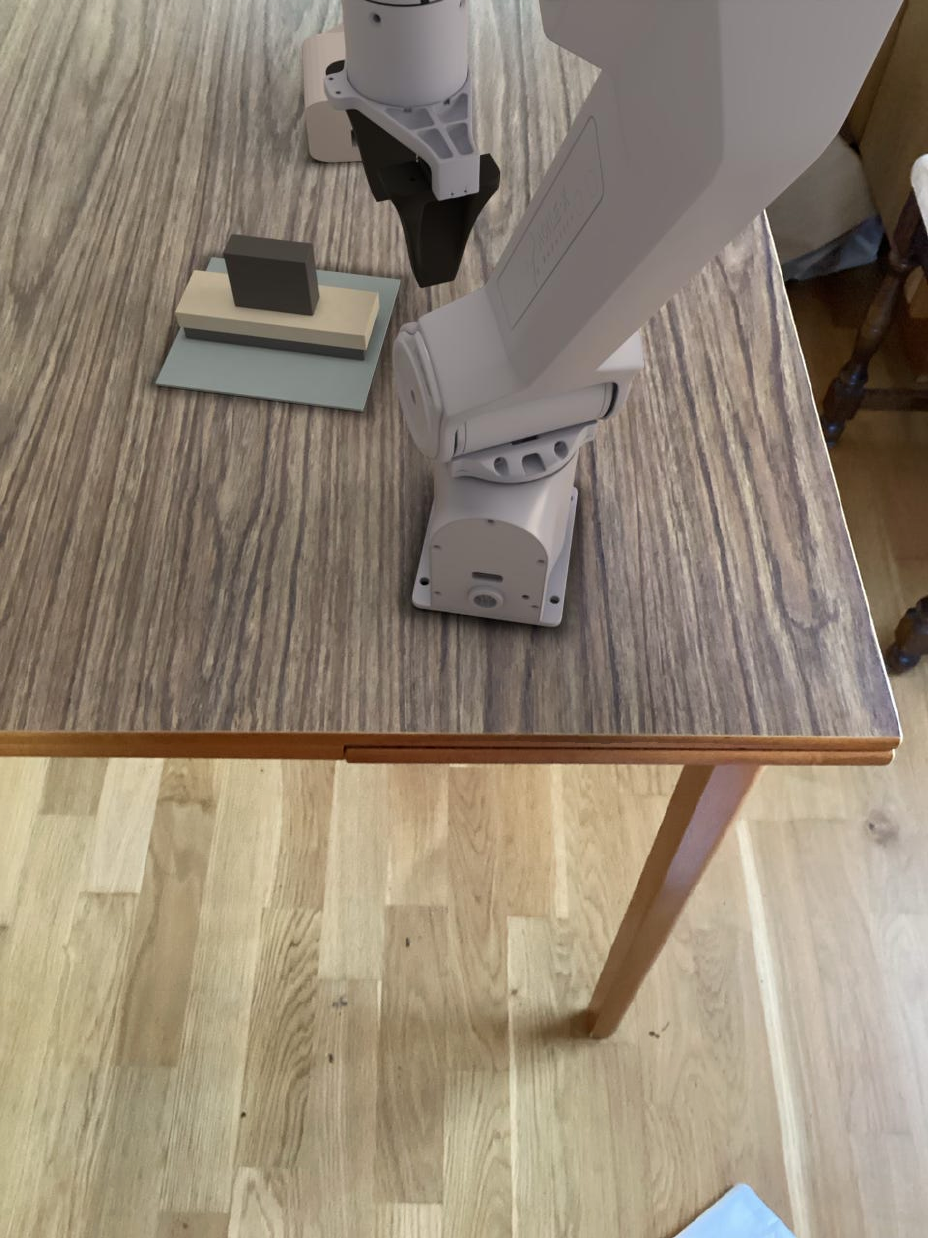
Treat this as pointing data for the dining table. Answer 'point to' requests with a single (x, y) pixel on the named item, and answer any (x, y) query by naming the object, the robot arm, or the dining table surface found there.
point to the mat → (283, 359)
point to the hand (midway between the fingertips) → (413, 236)
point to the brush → (276, 302)
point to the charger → (326, 100)
